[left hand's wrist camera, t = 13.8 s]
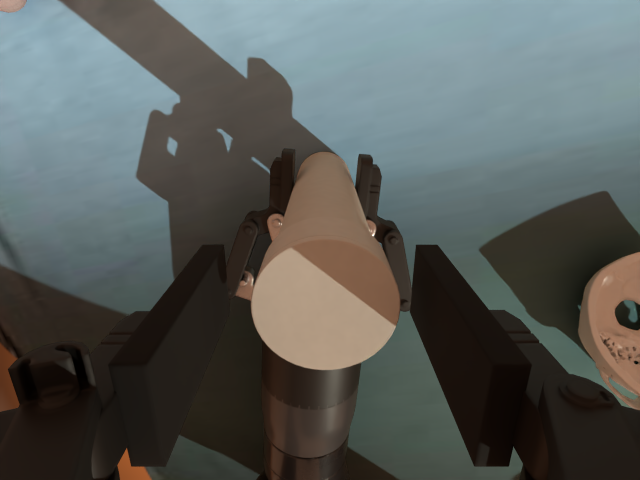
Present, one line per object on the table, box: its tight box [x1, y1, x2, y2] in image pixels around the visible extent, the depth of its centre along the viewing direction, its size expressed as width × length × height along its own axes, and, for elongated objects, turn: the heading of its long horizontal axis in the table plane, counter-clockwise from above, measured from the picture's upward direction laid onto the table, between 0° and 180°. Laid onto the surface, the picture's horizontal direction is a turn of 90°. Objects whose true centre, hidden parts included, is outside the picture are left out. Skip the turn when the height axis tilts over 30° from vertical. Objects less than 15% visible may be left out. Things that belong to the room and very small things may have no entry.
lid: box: [251, 217, 400, 370], centre depth 13 cm, size 5×5×2 cm
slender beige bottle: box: [279, 152, 371, 234], centre depth 22 cm, size 4×4×20 cm
